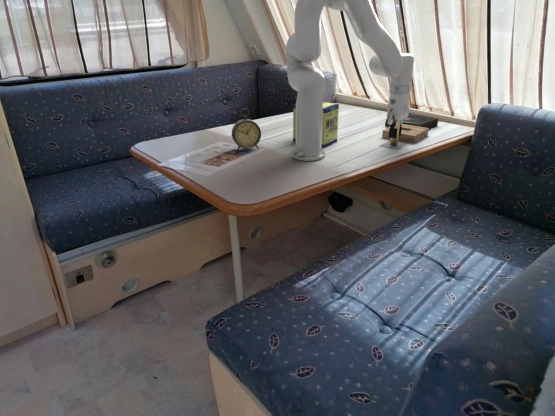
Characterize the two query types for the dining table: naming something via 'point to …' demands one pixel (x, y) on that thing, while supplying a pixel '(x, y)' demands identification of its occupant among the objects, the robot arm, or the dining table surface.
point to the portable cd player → (418, 121)
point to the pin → (395, 141)
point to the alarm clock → (246, 133)
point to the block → (409, 133)
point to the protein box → (324, 123)
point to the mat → (387, 145)
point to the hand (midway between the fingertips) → (394, 136)
